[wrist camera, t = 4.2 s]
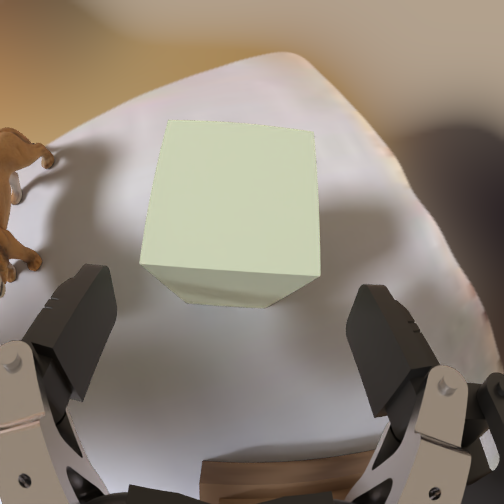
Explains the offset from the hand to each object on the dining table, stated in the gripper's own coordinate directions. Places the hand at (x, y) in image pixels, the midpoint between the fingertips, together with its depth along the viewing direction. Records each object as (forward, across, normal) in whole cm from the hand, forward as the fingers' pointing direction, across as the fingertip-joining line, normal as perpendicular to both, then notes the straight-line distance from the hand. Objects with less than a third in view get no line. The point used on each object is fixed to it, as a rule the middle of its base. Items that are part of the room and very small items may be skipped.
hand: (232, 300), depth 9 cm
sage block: (+8, 0, +4) cm, 8 cm away
